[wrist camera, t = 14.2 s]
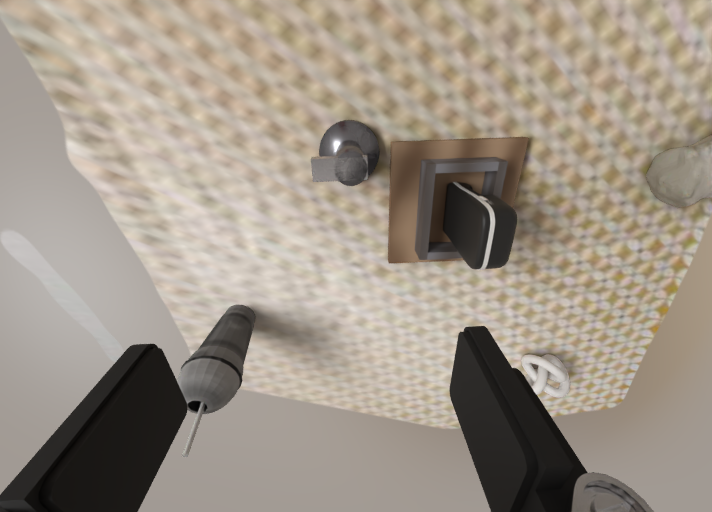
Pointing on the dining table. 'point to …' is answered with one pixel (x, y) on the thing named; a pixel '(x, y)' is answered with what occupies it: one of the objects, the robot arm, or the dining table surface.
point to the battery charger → (479, 226)
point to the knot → (546, 374)
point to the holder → (444, 189)
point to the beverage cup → (217, 366)
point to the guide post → (346, 154)
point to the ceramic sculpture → (682, 174)
